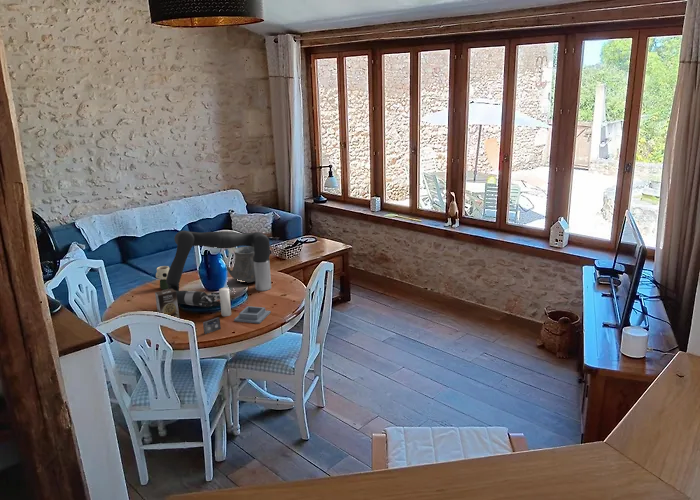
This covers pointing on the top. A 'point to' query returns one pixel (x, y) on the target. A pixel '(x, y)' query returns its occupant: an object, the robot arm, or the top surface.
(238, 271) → the vessel
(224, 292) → the cream canister
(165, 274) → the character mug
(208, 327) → the mini dv tape
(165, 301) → the coffee box
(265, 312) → the slate socket
